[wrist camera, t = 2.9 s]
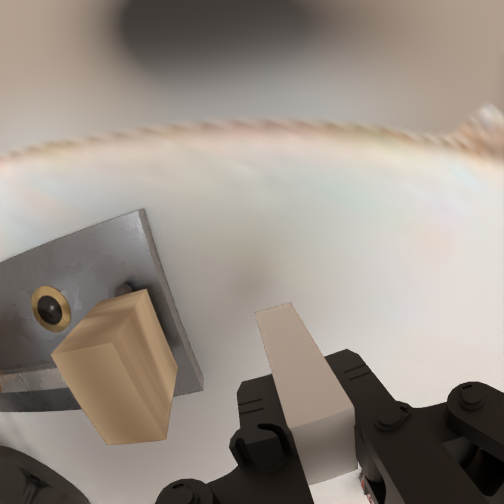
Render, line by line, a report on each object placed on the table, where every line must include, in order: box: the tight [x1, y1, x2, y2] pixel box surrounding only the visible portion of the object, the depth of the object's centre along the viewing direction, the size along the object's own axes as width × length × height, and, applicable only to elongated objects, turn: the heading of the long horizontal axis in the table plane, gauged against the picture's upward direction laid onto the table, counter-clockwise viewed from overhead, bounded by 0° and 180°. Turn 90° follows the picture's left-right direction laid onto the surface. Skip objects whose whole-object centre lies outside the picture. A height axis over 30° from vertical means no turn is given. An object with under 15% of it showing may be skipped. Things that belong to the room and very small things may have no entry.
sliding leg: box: [51, 284, 178, 445], centre depth 13 cm, size 3×5×7 cm, turn 15°
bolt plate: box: [0, 209, 204, 412], centre depth 17 cm, size 22×12×2 cm, turn 105°
